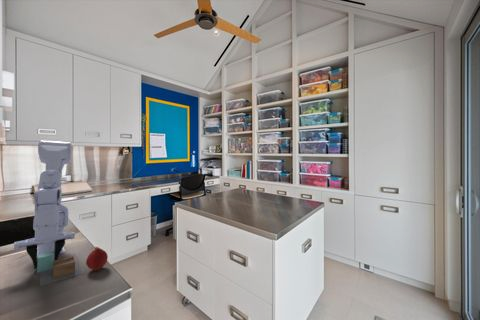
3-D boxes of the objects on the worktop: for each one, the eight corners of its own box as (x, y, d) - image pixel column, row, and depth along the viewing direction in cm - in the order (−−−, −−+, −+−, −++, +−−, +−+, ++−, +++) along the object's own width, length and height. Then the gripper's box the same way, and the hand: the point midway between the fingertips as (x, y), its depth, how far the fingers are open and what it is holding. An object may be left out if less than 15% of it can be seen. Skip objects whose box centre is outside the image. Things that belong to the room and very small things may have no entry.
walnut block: (52, 271, 66) (53, 260, 66) (72, 266, 70) (72, 256, 70) (53, 278, 62) (54, 266, 63) (74, 272, 66) (75, 261, 66)
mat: (39, 273, 66) (39, 272, 66) (78, 263, 73) (78, 261, 73) (40, 287, 59) (40, 286, 59) (83, 274, 66) (83, 273, 66)
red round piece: (103, 264, 72) (104, 241, 72) (109, 270, 69) (110, 246, 69) (83, 270, 68) (84, 246, 68) (88, 277, 64) (89, 252, 64)
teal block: (36, 269, 68) (37, 254, 68) (53, 265, 71) (53, 250, 71) (37, 274, 65) (37, 258, 65) (53, 269, 68) (54, 254, 68)
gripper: (14, 232, 60) (12, 278, 60) (76, 222, 71) (75, 262, 70) (15, 226, 65) (13, 269, 65) (73, 218, 76) (72, 255, 75)
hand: (45, 265), depth 68 cm, fingers closed on teal block, 4 cm apart
